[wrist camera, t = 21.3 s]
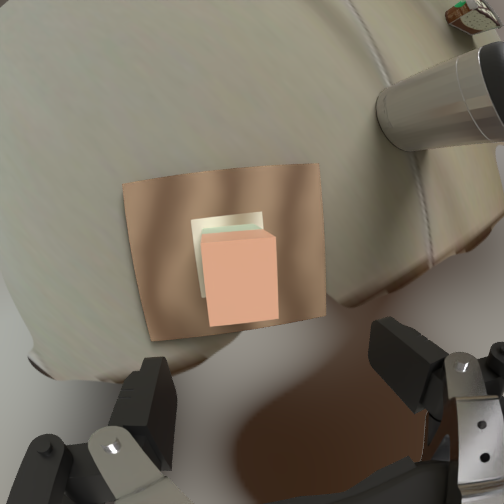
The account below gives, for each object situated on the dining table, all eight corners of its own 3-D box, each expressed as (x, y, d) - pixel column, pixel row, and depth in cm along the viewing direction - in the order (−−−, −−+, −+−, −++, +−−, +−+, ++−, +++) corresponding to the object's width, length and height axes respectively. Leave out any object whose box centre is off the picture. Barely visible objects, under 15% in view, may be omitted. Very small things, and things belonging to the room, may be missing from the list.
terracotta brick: (262, 229, 23) (275, 236, 19) (266, 297, 24) (278, 318, 20) (201, 234, 22) (200, 243, 18) (209, 303, 23) (209, 326, 19)
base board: (313, 164, 29) (319, 163, 27) (321, 310, 32) (326, 316, 31) (126, 184, 26) (122, 184, 24) (153, 335, 30) (151, 341, 28)
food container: (464, 15, 27) (491, 3, 17) (475, 37, 28) (504, 26, 18) (431, -1, 25) (461, -19, 16) (444, 22, 27) (476, 6, 17)
